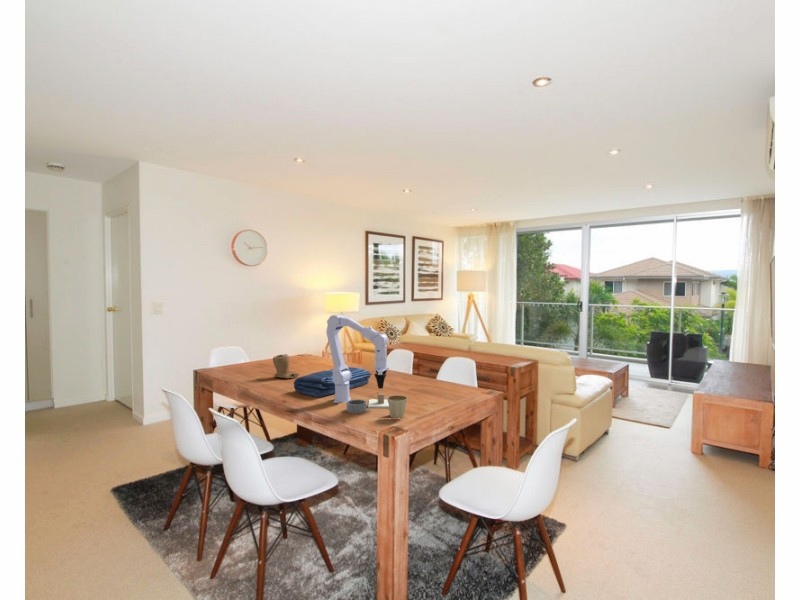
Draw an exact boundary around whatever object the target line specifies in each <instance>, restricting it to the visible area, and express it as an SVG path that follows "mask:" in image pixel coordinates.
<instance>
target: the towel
mask: <svg viewBox="0 0 800 600" xmlns="http://www.w3.org/2000/svg"><path fill="white" fill-rule="evenodd" d="M348 369H349V370H350V372H351V374H352V377H351V379H350V380H349V390H350V389H354V387H355V388H358V387H361V385H362V386H364V384H365V385H367V384H369V381H370V378H371V376H372V373H371V372H370V371H369V370H366V369H363V368H360V367H354V366H353V367H352V366H350V367H349V366H348ZM332 370H333V368H330V369H329V370H321V371H316V372H313V373H309V374H306V375H303V376H298V377H296V379H295V380H293V388H294V390H295V391H296V392H297V393H298V392H299V394H301V393H302V395H305V394H306V396H309V395H310V396H309V397H313V396H314V397H313V398H317V397H320V398H322V396H323V397H327V396H330V394H331V395H335V383H334V382H333V380H332V376H333V372H332ZM366 383H367V384H366ZM326 395H327V396H326Z"/></svg>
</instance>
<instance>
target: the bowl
mask: <svg viewBox="0 0 800 600" xmlns="http://www.w3.org/2000/svg"><path fill="white" fill-rule="evenodd" d="M345 403H346V412H347V413H349V414H363V413H365V412H367V400H365V399H350V400H349V401H347V402H345Z"/></svg>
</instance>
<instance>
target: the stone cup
mask: <svg viewBox="0 0 800 600" xmlns="http://www.w3.org/2000/svg"><path fill="white" fill-rule="evenodd" d="M272 363H273V366H274V367H275V370H276V373H274V375H273V376H274V377H275V378H280V379H289V378H293V379H295V377H296V378H298V377H300V373H298V372H292V371H290V356H289V355H288V354H287V353H285V354H277V355H275V356H273V358H272Z"/></svg>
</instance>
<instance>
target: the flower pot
mask: <svg viewBox="0 0 800 600" xmlns="http://www.w3.org/2000/svg"><path fill="white" fill-rule="evenodd" d="M386 399H387V400H388V403H389V408H388V410H389V417H390V418H392V419H394V418H395V419H396V420H397V419H398V418H399V419H402V418H403V417H404V416H405V413H406V412H405V410H406V403H407V402H408V397H407V396H405V395H402V394H401V395H398V394H395V395H390V396H387V397H386ZM399 419H398V420H399Z"/></svg>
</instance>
